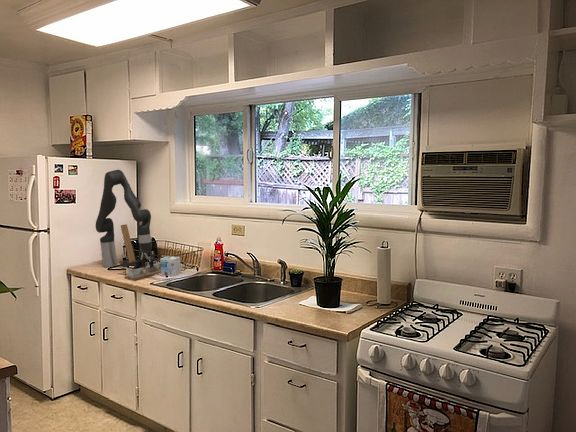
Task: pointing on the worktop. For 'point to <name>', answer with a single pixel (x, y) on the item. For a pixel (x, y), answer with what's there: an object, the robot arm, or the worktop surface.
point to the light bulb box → (170, 266)
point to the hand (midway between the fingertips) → (148, 266)
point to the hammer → (129, 249)
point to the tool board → (144, 275)
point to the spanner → (140, 271)
